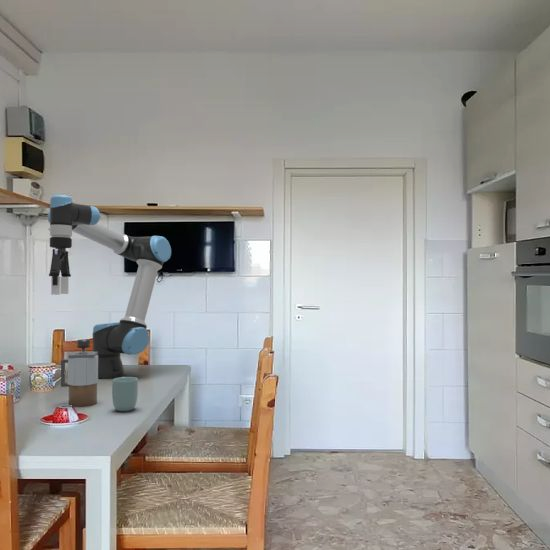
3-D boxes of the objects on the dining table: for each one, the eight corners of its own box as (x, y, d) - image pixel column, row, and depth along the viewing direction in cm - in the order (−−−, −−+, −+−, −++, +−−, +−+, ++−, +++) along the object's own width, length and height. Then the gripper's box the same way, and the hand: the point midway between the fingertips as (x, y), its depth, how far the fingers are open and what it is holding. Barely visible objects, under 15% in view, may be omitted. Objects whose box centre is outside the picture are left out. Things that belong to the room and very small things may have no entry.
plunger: (74, 378, 171) (75, 339, 171) (95, 378, 172) (96, 338, 172) (69, 382, 164) (70, 341, 164) (92, 382, 165) (92, 341, 166)
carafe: (64, 401, 171) (64, 351, 171) (98, 400, 173) (99, 351, 173) (57, 407, 162) (58, 355, 163) (94, 406, 164) (95, 354, 165)
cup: (130, 413, 155) (130, 381, 155) (107, 412, 157) (107, 380, 157) (141, 407, 163) (142, 377, 163) (119, 406, 164) (120, 376, 165)
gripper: (58, 239, 196) (57, 293, 196) (40, 233, 171) (39, 295, 171) (78, 240, 197) (77, 293, 197) (63, 234, 173) (62, 295, 172)
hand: (60, 294), depth 184 cm, fingers open, 13 cm apart
